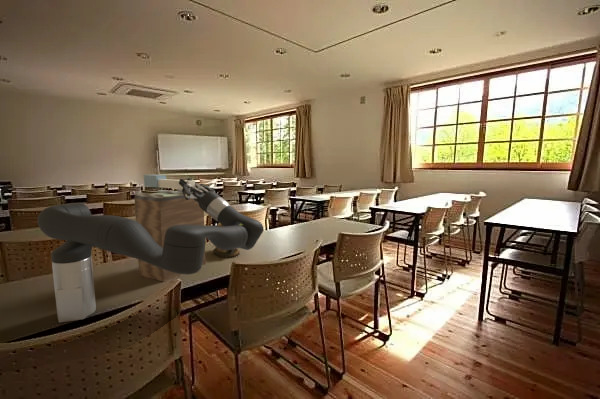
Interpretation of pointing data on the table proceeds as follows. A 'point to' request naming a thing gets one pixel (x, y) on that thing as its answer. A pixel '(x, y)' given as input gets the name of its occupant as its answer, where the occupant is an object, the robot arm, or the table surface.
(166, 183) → the blue and beige bar
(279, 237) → the table surface
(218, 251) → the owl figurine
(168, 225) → the tall wood grain pillar
